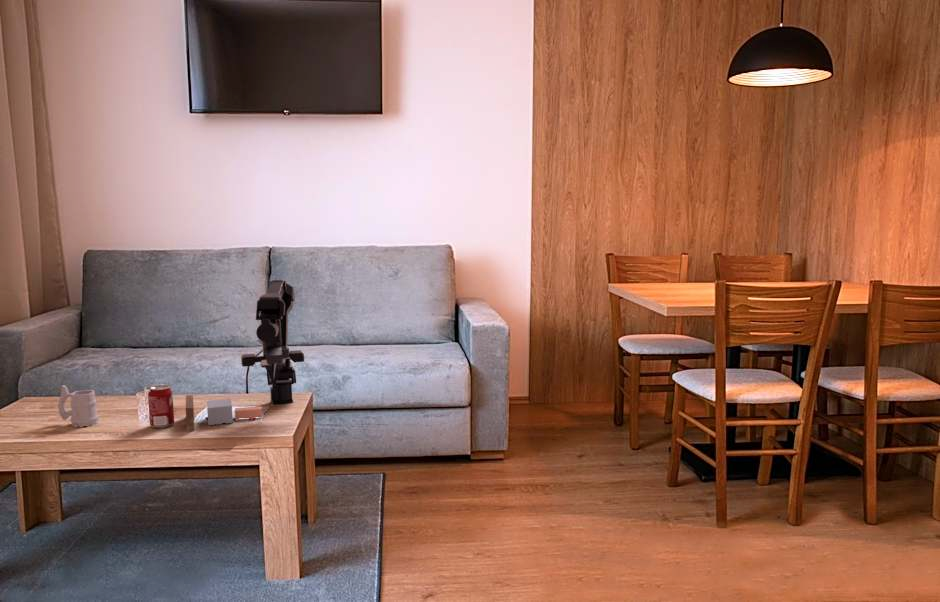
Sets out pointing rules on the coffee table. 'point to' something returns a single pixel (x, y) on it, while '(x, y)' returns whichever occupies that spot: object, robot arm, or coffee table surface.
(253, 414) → the orange white rectangular bar
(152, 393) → the soda can
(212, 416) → the block
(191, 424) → the wall
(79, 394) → the mug
